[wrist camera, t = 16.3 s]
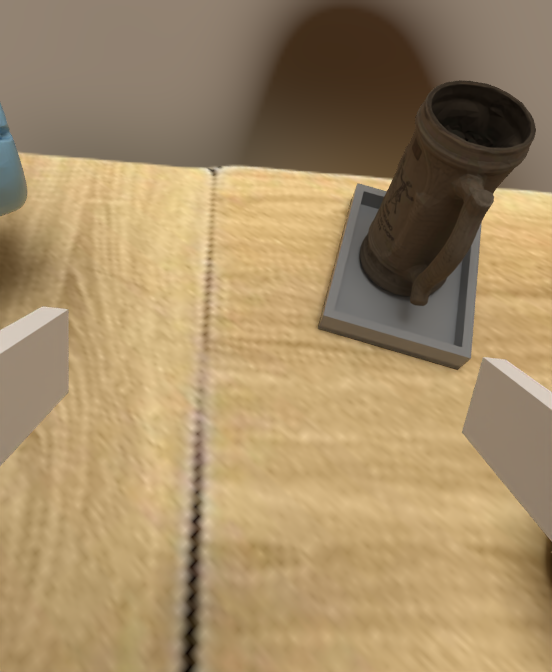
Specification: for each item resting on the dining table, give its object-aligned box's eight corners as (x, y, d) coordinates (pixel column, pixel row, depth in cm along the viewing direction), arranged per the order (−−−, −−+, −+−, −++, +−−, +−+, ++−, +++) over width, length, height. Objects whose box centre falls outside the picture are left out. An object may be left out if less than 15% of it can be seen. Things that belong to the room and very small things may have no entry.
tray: (317, 328, 52) (323, 315, 50) (351, 200, 62) (357, 183, 59) (457, 369, 52) (470, 358, 49) (470, 234, 61) (481, 218, 59)
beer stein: (351, 222, 59) (409, 69, 41) (433, 224, 60) (523, 77, 42) (370, 332, 52) (450, 205, 34) (462, 331, 53) (585, 209, 36)
